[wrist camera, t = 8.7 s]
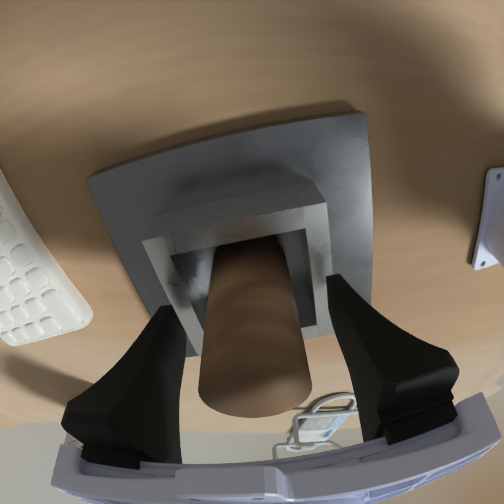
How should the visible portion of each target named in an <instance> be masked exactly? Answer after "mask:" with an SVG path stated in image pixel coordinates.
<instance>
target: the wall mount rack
mask: <svg viewBox="0 0 504 504" xmlns="http://www.w3.org/2000/svg"><path fill="white" fill-rule="evenodd" d="M341 398H350V399H353V402H352V404H351V405H350V406H349V407H348V409H347V410H343V411H329V412H316V411H317V410H318V409H319V408H320V407H321V406H322V405H324V404H326V403H328V402H330V401H333V400H336V399H341ZM356 405H357V403H356V399H355V395H354V394H352V393H340V394H335V395H331V396H329V397H326V398H324V399H322V400H321V401H319V402H318V403H316V404H315V405H314V406H313V408H312V409H311V410H310V411H309V412H307V413H300V414H296V415H295V416H294V417H293V420H292V425H293V431H292V433H291V434H290V435H289V437H288V438H287V442H286V443H279V444H276V445H274V446H273V460H274V459H278V457H277V448H278V447H285V449H287V450H289V451H305V450H312V449H313V448H315V447H317V446H319V445H324V444H329V445H332V446H334V447H336V448H337V449H339V448H343V447H342V446H340V445H338V444H337V443H335V442H333V441H326V440H327V439H328V438H329V437H330V436H331V435H332V434H333V433H334V432H335V431H336V429H337V428H338V427H339V426H340V425H341V424H342V423H343V422H344V420H345V419H346V418H347V417H348V416H349V414H359V413H358V409H354V408H355V406H356ZM300 418H302V420H301V421H300V422H299V424H298V419H300ZM293 447H299V448H293Z"/></svg>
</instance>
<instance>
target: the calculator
mask: <svg viewBox="0 0 504 504" xmlns="http://www.w3.org/2000/svg"><path fill="white" fill-rule="evenodd" d="M42 294H43V295H42ZM92 317H93V311H92V309H91V307H90V306H89V304H88V303H87V302H86V300H85V299H84V298H83V296H82V295H81V294H80V293H79V291H78V290H77V289H76V287H75V286H74V285H73V283H72V282H71V281H70V280H69V278H68V277H67V275H66V274H65V273H64V271H63V270H62V269H61V267H60V266H59V264H58V263H57V262H56V260H55V259H54V257H53V256H52V254H51V253H50V251H49V250H48V249H47V247H46V246H45V244H44V243H43V241H42V239H41V238H40V236H39V235H38V233H37V232H36V230H35V229H34V227H33V225H32V224H31V222H30V220H29V219H28V217H27V216H26V214H25V212H24V210H23V209H22V207H21V205H20V204H19V202H18V200H17V198H16V197H15V195H14V193H13V191H12V189H11V187H10V186H9V184H8V182H7V180H6V178H5V176H4V174H3V172H2V170H1V168H0V337H1V338H2V339H3V340H4V341H5V342H6V343H7V344H9V345H10V346H20V345H24V344H28V343H31V342H35V341H39V340H43V339H46V338H50V337H54V336H57V335H61V334H65V333H68V332H72V331H75V330H79V329H81V328H84V327H85V326H87V325H88V324H89V323H90V321H91V319H92Z"/></svg>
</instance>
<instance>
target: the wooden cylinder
mask: <svg viewBox="0 0 504 504" xmlns="http://www.w3.org/2000/svg"><path fill="white" fill-rule="evenodd" d="M311 390H312V382H311V377H310V372H309V366H308V361H307V356H306V351H305V346H304V341H303V336H302V331H301V326H300V321H299V316H298V311H297V306H296V302H295V297H294V292H293V288H292V283H291V278H290V274H289V269H288V265H287V260H286V256H285V252H284V250H283V248H282V247H281V245H280V244H279V243H278V242H277V241H276V240H274V239H273V238H271V237H270V236H263V237H258V238H253V239H248V240H243V241H238V242H233V243H228V244H223V245H219V246H218V247H217V249H216V251H215V253H214V256H213V261H212V269H211V277H210V285H209V293H208V301H207V310H206V318H205V327H204V336H203V346H202V355H201V365H200V376H199V387H198V393H199V396H200V398H201V399H202V401H203V402H204V403H205V404H206V405H207V406H209V407H210V408H212V409H214V410H216V411H218V412H221V413H224V414H227V415H231V416H237V417H246V418H258V417H267V416H273V415H277V414H281V413H284V412H287V411H289V410H291V409H293V408H295V407H297V406H299V405H300V404H301V403H303V402H304V401H305V400H306V399H307V398H308V396H309V395H310V393H311Z"/></svg>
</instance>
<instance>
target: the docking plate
mask: <svg viewBox="0 0 504 504" xmlns="http://www.w3.org/2000/svg"><path fill="white" fill-rule="evenodd" d="M86 181H87V184H88V186H89V189H90V191H91V194H92V196H93V198H94V201H95V203H96V206H97V208H98V210H99V213H100V215H101V217H102V219H103V222H104V224H105V226H106V228H107V231H108V233H109V235H110V237H111V239H112V241H113V244H114V246H115V248H116V250H117V252H118V254H119V256H120V258H121V260H122V262H123V264H124V266H125V268H126V270H127V272H128V274H129V276H130V278H131V280H132V282H133V284H134V286H135V287H136V289H137V291H138V293H139V295H140V297H141V299H142V300H143V302H144V304H145V306H146V308H147V310H148V311H149V313H150V315H151V317H153V315H154V314H155V313H156V311H157V310H158V308H159V307H160V306H164V305H171V304H172V306H173V308H174V310H175V312H176V314H177V316H178V318H179V320H180V322H181V324H182V326H183V327H184V329H185V331H186V333H187V335H186V356H185V357H192V356H201V355H202V346H203V336H204V327H205V318H206V310H207V301H208V293H209V285H210V277H211V269H212V261H213V256H214V253H215V251H216V249H217V247H218V246H219V245H223V244H228V243H233V242H238V241H243V240H248V239H253V238H258V237H263V236H270V237H271V238H273V239H274V240H276V241H277V242H278V243H279V244H280V245H281V247H282V248H283V250H284V252H285V256H286V260H287V265H288V269H289V274H290V278H291V283H292V288H293V292H294V297H295V302H296V306H297V311H298V316H299V321H300V326H301V331H302V336H303V340H304V339H309V338H314V337H319V336H324V335H328V334H333V333H335V332H334V329H333V326H332V322H331V318H330V314H329V310H328V299H327V285H326V276H329V275H334V274H340V275H342V277H343V278H344V279H345V280H346V281H347V282H348V284H349V285H350V286H351V287H352V288H353V289H354V290H355V291H356V292H357V293H358V294H359V295H360V296H361V297H362V298H363V299H364V300H365V301H366V302H367V303H368V304H369V305H371V288H372V261H373V210H372V182H371V165H370V152H369V140H368V130H367V120H366V113H364V112H361V111H349V112H340V113H332V114H324V115H317V116H310V117H304V118H297V119H291V120H285V121H280V122H274V123H269V124H263V125H258V126H253V127H249V128H244V129H239V130H235V131H230V132H226V133H222V134H218V135H213V136H209V137H205V138H202V139H198V140H194V141H190V142H186V143H183V144H179V145H176V146H172V147H169V148H165V149H162V150H159V151H155V152H152V153H149V154H146V155H143V156H140V157H137V158H134V159H131V160H128V161H125V162H122V163H119V164H116V165H113V166H110V167H108V168H105V169H102V170H99V171H97V172H94V173H93V174H91V175H90V176H89V177H88V178H86Z"/></svg>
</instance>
